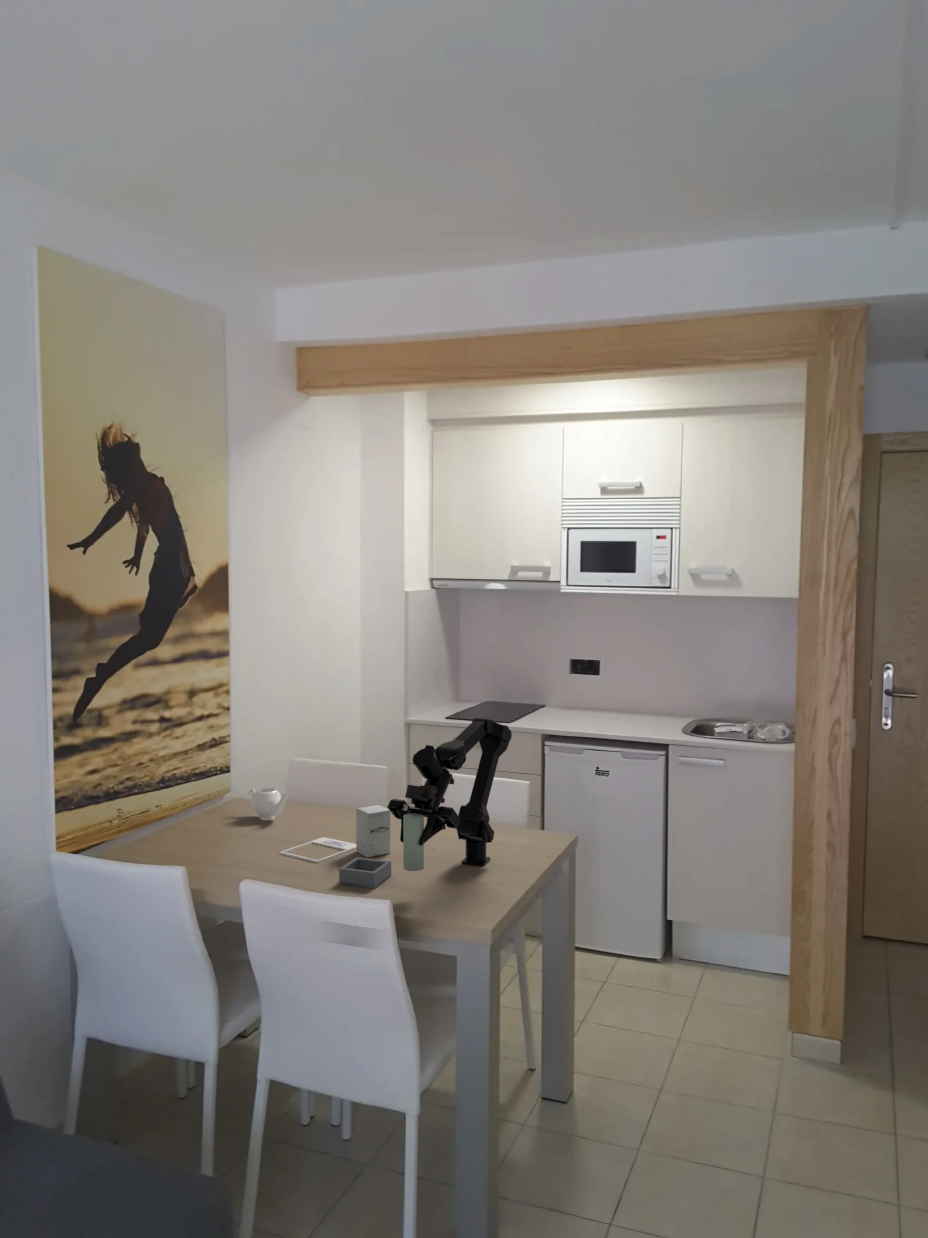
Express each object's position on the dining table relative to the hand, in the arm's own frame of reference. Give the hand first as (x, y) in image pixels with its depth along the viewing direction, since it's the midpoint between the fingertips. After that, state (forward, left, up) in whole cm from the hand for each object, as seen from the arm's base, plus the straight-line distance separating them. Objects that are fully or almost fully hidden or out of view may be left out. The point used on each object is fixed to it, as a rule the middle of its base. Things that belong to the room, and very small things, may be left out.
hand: (410, 843), depth 237 cm
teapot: (-50, -71, -14) cm, 88 cm away
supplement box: (-29, -24, -14) cm, 40 cm away
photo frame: (-26, -39, -14) cm, 49 cm away
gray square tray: (-7, -16, -13) cm, 22 cm away
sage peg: (-1, 0, -7) cm, 7 cm away
